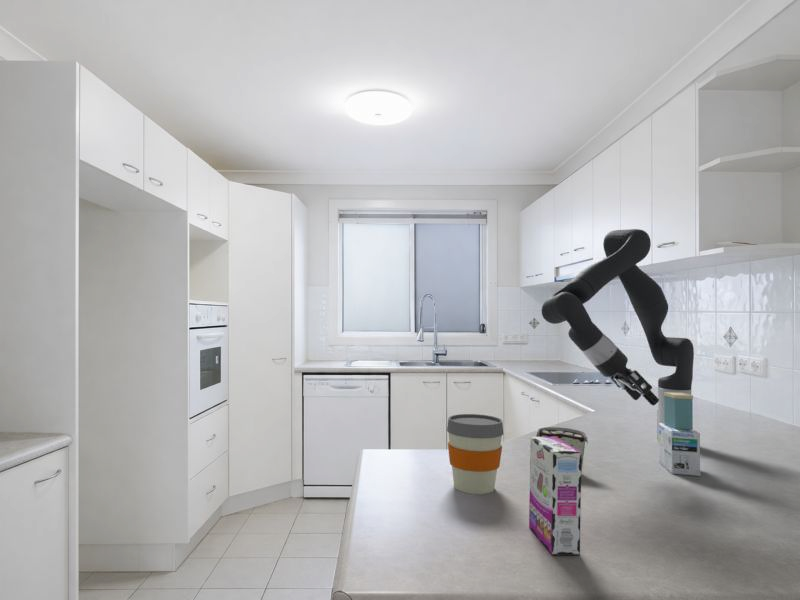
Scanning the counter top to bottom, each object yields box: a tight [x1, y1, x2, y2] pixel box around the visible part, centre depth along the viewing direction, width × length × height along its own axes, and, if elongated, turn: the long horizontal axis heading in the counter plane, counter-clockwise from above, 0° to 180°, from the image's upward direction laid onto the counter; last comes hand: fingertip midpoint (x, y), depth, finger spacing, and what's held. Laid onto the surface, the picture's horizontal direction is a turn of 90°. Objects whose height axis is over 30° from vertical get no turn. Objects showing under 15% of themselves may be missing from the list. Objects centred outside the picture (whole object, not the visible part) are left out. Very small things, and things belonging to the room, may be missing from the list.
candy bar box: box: [528, 436, 582, 556], centre depth 83 cm, size 11×5×16 cm, turn 5°
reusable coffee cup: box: [446, 413, 504, 495], centre depth 109 cm, size 13×13×15 cm
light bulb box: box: [658, 423, 701, 477], centre depth 126 cm, size 11×7×11 cm, turn 169°
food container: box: [535, 426, 589, 474], centre depth 124 cm, size 12×6×10 cm, turn 65°
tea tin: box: [664, 392, 694, 430], centre depth 127 cm, size 5×5×9 cm
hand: (646, 400), depth 126 cm, fingers open, 8 cm apart
